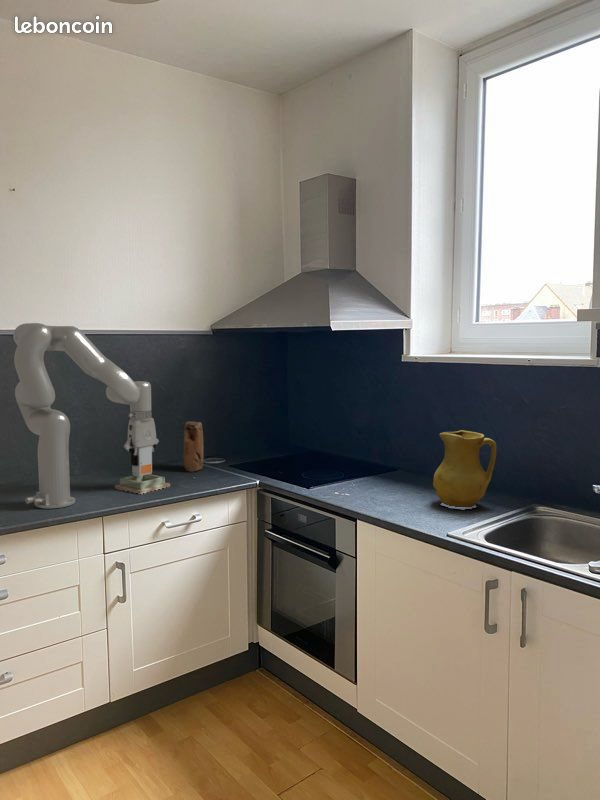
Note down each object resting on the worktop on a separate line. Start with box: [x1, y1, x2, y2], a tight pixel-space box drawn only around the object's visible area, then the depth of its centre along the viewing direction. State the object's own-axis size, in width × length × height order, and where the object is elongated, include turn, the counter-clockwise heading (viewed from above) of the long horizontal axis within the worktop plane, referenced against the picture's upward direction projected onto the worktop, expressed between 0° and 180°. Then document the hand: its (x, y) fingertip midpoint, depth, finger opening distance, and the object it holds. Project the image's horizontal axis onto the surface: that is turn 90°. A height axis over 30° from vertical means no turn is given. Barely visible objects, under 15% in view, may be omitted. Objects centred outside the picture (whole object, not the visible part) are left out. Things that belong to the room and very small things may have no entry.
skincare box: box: [131, 445, 153, 476], centre depth 230 cm, size 6×4×12 cm
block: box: [183, 421, 204, 473], centre depth 261 cm, size 11×8×20 cm
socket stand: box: [114, 474, 171, 495], centre depth 231 cm, size 14×14×4 cm
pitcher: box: [432, 429, 497, 507], centre depth 207 cm, size 17×19×25 cm
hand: (142, 463), depth 230 cm, fingers closed on skincare box, 6 cm apart
